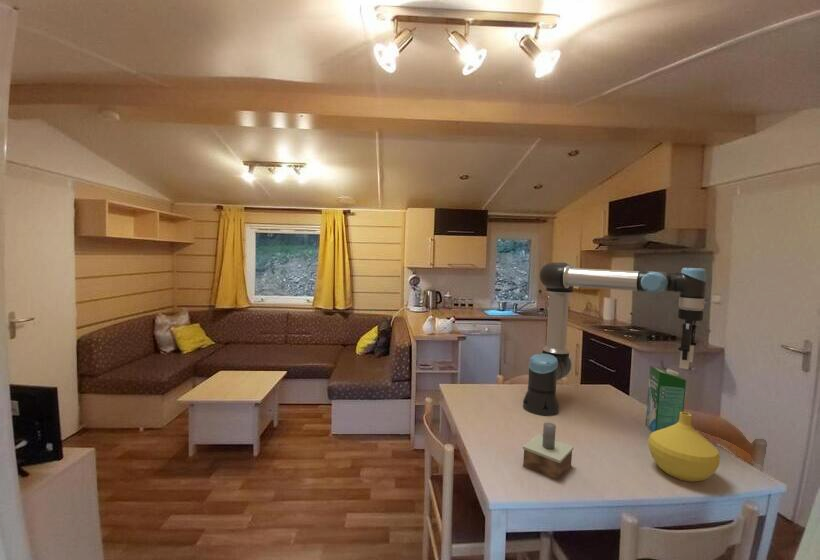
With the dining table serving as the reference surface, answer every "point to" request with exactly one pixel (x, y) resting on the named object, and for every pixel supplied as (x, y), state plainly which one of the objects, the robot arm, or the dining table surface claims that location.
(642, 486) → the dining table surface
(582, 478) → the dining table surface
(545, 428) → the lid
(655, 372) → the milk carton
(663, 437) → the vase
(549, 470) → the walnut box
